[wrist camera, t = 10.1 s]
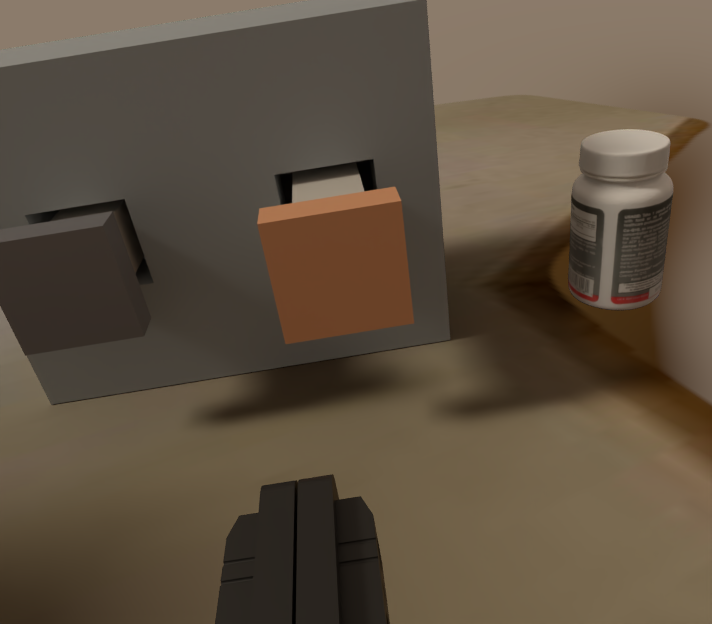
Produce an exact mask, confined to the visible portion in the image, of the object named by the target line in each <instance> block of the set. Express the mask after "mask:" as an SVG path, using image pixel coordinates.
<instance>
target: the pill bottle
mask: <svg viewBox="0 0 712 624" xmlns="http://www.w3.org/2000/svg"><path fill="white" fill-rule="evenodd" d="M669 150H670V140H669V138H668V137H666V136H665V135H663V134H660V133H657V132H653V131H647V130H635V129H624V130H612V131H605V132H600V133H596V134H593V135H591V136H588V137H586V138H585V139H584V140H583V141H582V142H581V148H580V159H579V166H580V170H581V172H582V173H583V174H581V175H580V176H579V177H578V178H577V179H576V180H575V182H574V184H573V187H572V196H571V223H570V226H571V227H570V252H569V274H568V285H569V290H570V292H571V294H572V295H573V296H574V297H575V298H576V299H577V300H579V301H581V302H582V303H585V304H587V305H590V306H593V307H597V308H601V309H607V310H631V309H636V308H640V307H643V306H645V305H647V304H649V303H651V302H652V301H653V300H654V299H656V298H657V296H658V295H659V293H660V291H661V285H662V278H663V270H664V261H665V253H666V244H667V237H668V228H669V221H670V213H671V204H672V197H673V183H672V180H671V179H670V177H669V176H668V175H667V174H666V173H664V172H665V171H666V170H667V168H668V158H669Z"/></svg>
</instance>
